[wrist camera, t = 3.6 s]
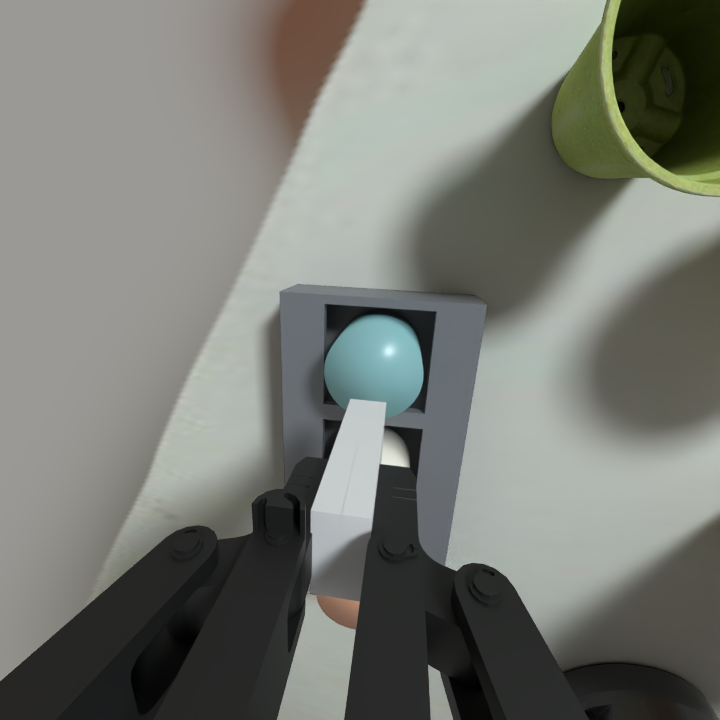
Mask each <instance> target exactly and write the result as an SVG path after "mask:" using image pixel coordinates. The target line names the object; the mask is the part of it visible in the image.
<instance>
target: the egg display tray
mask: <svg viewBox="0 0 720 720" xmlns="http://www.w3.org/2000/svg"><path fill="white" fill-rule="evenodd" d="M376 309H382V310H388V311H392V312H395V313H397V314H399V315H401V316H402V317H404V318H405V319H406V320H407V321H408V322H409V323H410V324H411V325H412V326H413V328H414V329H415V331H416V333H417V335H418V338H419V342H420V349H421V357H422V364H423V373H424V375H423V384H422V387H421V390H420V393H419V395H418V397H417V398H416V399H415V401H414V402H413V403H412V404H411V405H410V406H409V407H408V408H407V409H406V410H405V411H403V412H401V413H400V414H398V415H396V416H393V417H390V418H386V419H385V425H384V426H385V427H388V428H390V429H392V430H393V431H395V432H396V433H397V434H398V435H399V436H400V437H401V438H402V439H403V440H404V442H405V443H406V445H407V448H408V451H409V456H410V469H411V471H412V472H413V474H414V476H415V477H416V491H417V514H418V536H419V542H420V544H421V546H422V548H423V550H424V551H425V552H426V553H427V555H428V556H429V557H431V558H432V559H433V560H434V561H436V562H438V563H439V564H441V565H443V566H445V561H446V555H447V549H448V543H449V537H450V531H451V525H452V519H453V512H454V506H455V500H456V494H457V488H458V482H459V476H460V470H461V463H462V457H463V451H464V445H465V439H466V433H467V427H468V421H469V414H470V408H471V402H472V396H473V390H474V384H475V378H476V372H477V365H478V359H479V353H480V347H481V341H482V335H483V329H484V323H485V316H486V310H487V305H486V304H485V303H484V302H483V301H481V300H480V299H479V298H478V297H476V296H475V295H461V294H446V293H430V292H414V291H398V290H382V289H367V288H351V287H335V286H319V285H303V284H297V285H295V286H292V287H290V288H287V289H285V290H282V291H280V327H281V365H282V403H283V441H284V479H285V486H286V483H287V481H288V479H289V477H290V476H291V473H292V471H293V469H294V467H295V465H296V464H297V463H298V462H300V461H301V460H302V459H303V458H305V457H306V456H307V457H315V458H324V459H329V458H330V455H331V452H332V449H333V447H334V444H335V441H336V438H337V435H338V432H339V430H340V427H341V424H342V421H343V418H344V416H345V413H346V410H344V409H343V408H342V407H341V406H340V405H338V404H337V402H336V401H335V400H334V399H333V397H332V396H331V394H330V393H329V390H328V388H327V385H326V382H325V377H324V366H325V361H326V357H327V355H328V352H329V350H330V349H331V347H332V346H333V344H334V343H335V341H336V340H337V338H338V337H339V335H340V334H341V333H342V331H343V330H344V328H345V327H346V325H347V324H348V323H349V322H350V321H351V320H352V319H353V318H354V317H356V316H357V315H359V314H361V313H363V312H366V311H369V310H376Z"/></svg>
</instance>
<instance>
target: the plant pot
mask: <svg viewBox="0 0 720 720" xmlns="http://www.w3.org/2000/svg"><path fill="white" fill-rule="evenodd" d="M612 52H617V55H618V56H617V57H616V58H615V59H613V60H612ZM662 67H667V68H668V70H669V72H670V74H671V77H672V81H673V87H674V90H673V92H672V94H671V95H670V96H669V97H668V96H667V95H666V91H665V90H666V88H665V85H666V82H665V79H664V76H663V74H662V71H661V68H662ZM618 102H623V103H624V105H625V109H624V111H623V112H622V113H620V110H619V107H618V104H617V103H618ZM551 123H552V137H553V141H554V144H555V147H556V149H557V152H558V153H559V155H560V157H561V158H562V160H563V161H564V162H565V163H566V164H567V165H568V166H569V167H570V168H572V169H573V170H575V171H577V172H579V173H581V174H584V175H587V176H590V177H594V178H651V179H653V180H654V181H656V182H658V183H660V184H662V185H664V186H666V187H668V188H671V189H674V190H677V191H680V192H683V193H688V194H693V195H700V196H712V197H720V0H607V2H606V5H605V9H604V13H603V17H602V21H601V24H600V25H599V27H598V28H597V30H596V31H595V33H594V34H593V36H592V38H591V39H590V41H589V42H588V44H587V45H586V47H585V49H584V50H583V52H582V53H581V55H580V56H579V58H578V59H577V61H576V62H575V64H574V65H573V67H572V68H571V70H570V71H569V73H568V74H567V76H566V78H565V79H564V81H563V83H562V85H561V87H560V90H559V92H558V95H557V98H556V101H555V103H554V106H553V112H552V121H551ZM640 147H643V151H642V149H641V148H640Z"/></svg>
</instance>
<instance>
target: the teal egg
mask: <svg viewBox="0 0 720 720" xmlns="http://www.w3.org/2000/svg"><path fill="white" fill-rule="evenodd" d="M423 375H424V373H423V364H422V357H421V349H420V342H419V338H418V335H417V333H416V331H415V329H414V328H413V326H412V325H411V324H410V323H409V322H408V321H407V320H406V319H405V318H404V317H402V316H401V315H399V314H397V313H395V312H392V311H388V310H382V309H376V310H369V311H366V312H363V313H361V314H359V315H357V316H356V317H354V318H353V319H352V320H351V321H350V322H349V323H348V324H347V325H346V327H345V328H344V330H343V331H342V333H341V334H340V335H339V337H338V338H337V340H336V341H335V343H334V344H333V346H332V347H331V349H330V350H329V352H328V355H327V357H326V361H325V366H324V377H325V382H326V385H327V388H328V390H329V393H330V394H331V396H332V397H333V399H334V400H335V401H336V402H337V404H338V405H340V406H341V407H342V408H343V409H344V410H347V407H348V404H349V402H350V399H357V400H367V401H378V402H386V413H385V419H386V418H390V417H393V416H396V415H398V414H400V413H401V412H403V411H405V410H406V409H407V408H408V407H409V406H410V405H411V404H412V403H413V402H414V401H415V399H416V398H417V397H418V395H419V393H420V390H421V387H422V384H423Z"/></svg>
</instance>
